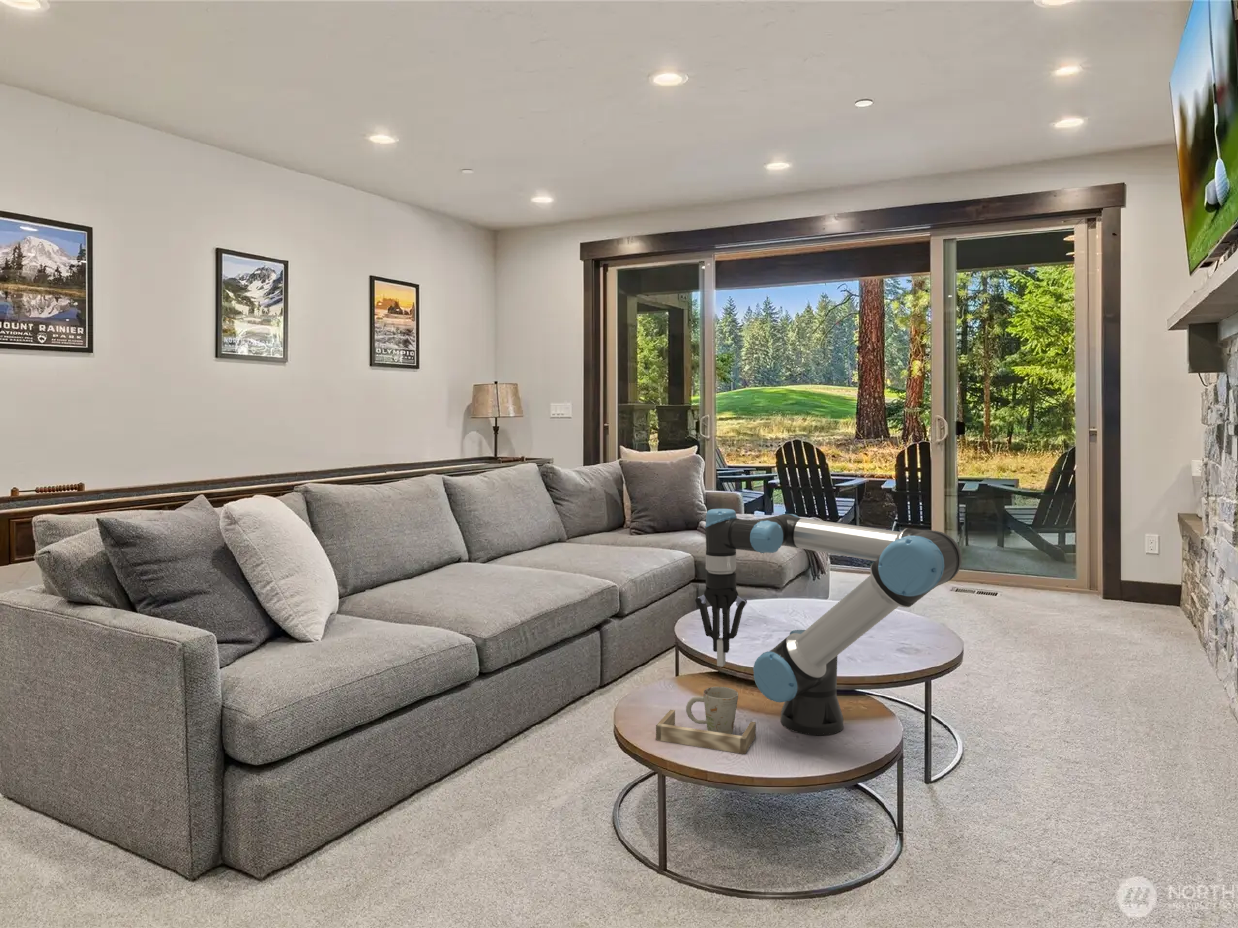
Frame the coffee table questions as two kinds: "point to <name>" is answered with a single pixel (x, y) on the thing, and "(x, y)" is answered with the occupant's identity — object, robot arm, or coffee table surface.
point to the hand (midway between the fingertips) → (721, 664)
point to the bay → (704, 736)
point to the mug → (717, 709)
